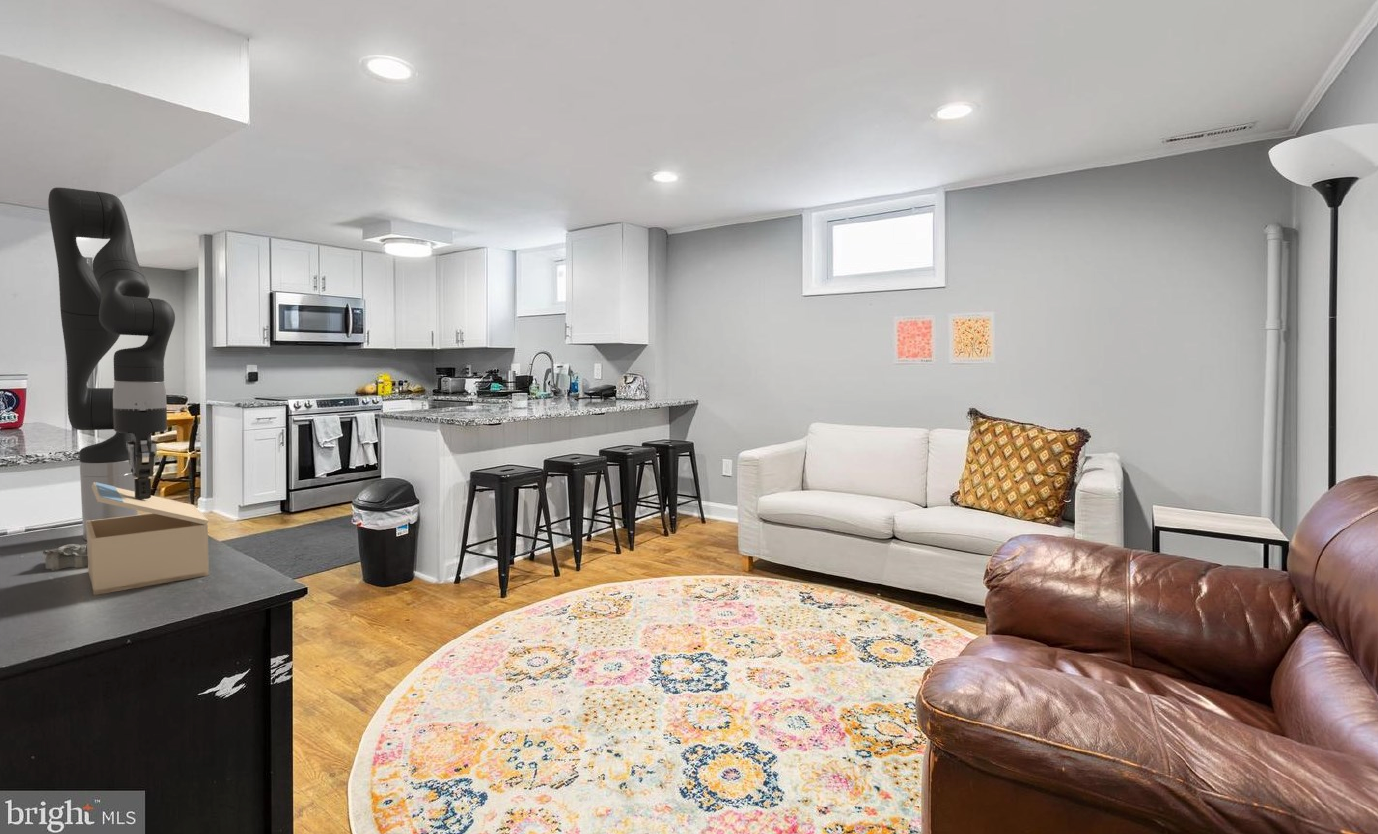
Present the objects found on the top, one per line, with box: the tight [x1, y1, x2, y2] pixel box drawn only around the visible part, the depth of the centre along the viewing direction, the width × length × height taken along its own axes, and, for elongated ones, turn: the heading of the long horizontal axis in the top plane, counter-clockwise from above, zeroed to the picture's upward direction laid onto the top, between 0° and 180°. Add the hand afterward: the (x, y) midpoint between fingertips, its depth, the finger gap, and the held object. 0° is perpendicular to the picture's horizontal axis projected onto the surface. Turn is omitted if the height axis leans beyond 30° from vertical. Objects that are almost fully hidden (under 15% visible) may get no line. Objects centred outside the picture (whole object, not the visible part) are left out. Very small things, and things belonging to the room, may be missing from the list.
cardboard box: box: [86, 513, 210, 596], centre depth 121 cm, size 16×16×10 cm
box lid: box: [92, 482, 209, 525], centre depth 120 cm, size 16×16×1 cm
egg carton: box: [42, 543, 88, 571], centre depth 126 cm, size 11×8×4 cm
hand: (143, 498), depth 119 cm, fingers closed
